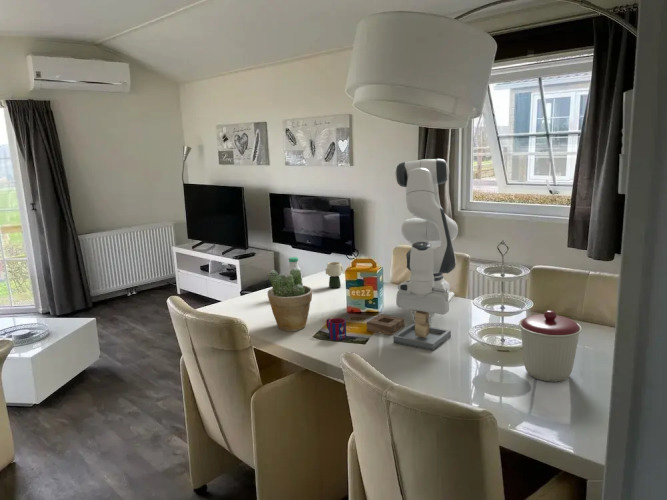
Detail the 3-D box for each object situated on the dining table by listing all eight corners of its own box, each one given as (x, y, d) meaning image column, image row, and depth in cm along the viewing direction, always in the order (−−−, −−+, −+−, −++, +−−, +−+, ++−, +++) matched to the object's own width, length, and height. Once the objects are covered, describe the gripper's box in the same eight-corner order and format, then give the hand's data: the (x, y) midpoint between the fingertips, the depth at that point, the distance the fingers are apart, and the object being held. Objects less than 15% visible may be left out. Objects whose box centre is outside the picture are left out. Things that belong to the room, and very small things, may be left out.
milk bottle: (304, 298, 257) (302, 258, 253) (288, 300, 256) (286, 260, 252) (302, 294, 265) (300, 255, 261) (286, 295, 263) (284, 257, 259)
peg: (419, 332, 201) (419, 309, 199) (429, 334, 198) (429, 311, 197) (415, 335, 198) (414, 312, 196) (424, 337, 195) (424, 314, 193)
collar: (380, 322, 219) (380, 314, 219) (404, 326, 213) (404, 318, 212) (366, 330, 211) (366, 321, 210) (391, 335, 204) (391, 326, 203)
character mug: (338, 284, 281) (337, 260, 279) (347, 286, 276) (346, 262, 273) (322, 288, 275) (321, 263, 272) (330, 290, 269) (329, 266, 267)
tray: (412, 329, 209) (412, 323, 209) (450, 336, 200) (450, 330, 200) (393, 342, 197) (393, 336, 196) (432, 350, 187) (432, 344, 187)
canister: (531, 358, 178) (533, 298, 174) (587, 373, 165) (591, 309, 161) (507, 376, 165) (509, 312, 161) (566, 393, 153) (569, 324, 148)
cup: (334, 341, 200) (334, 324, 198) (321, 334, 208) (321, 317, 207) (349, 337, 203) (349, 321, 202) (336, 330, 212) (335, 314, 210)
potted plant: (294, 316, 231) (291, 261, 226) (323, 325, 218) (321, 267, 213) (261, 327, 219) (257, 269, 214) (289, 338, 205) (286, 276, 201)
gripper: (452, 287, 191) (451, 323, 194) (401, 281, 202) (402, 315, 205) (444, 292, 186) (444, 329, 189) (394, 284, 197) (394, 319, 200)
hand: (422, 321), depth 197 cm, fingers closed on peg, 4 cm apart
